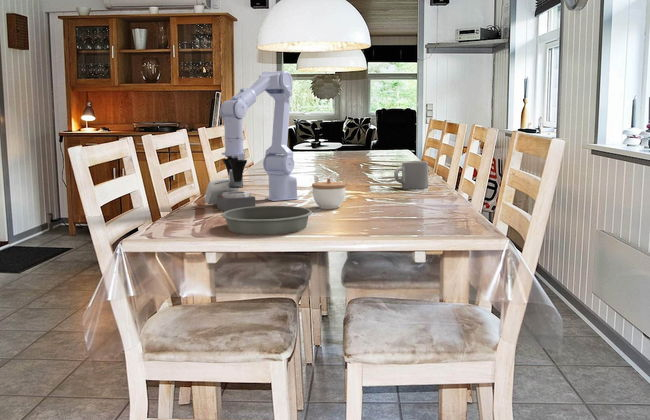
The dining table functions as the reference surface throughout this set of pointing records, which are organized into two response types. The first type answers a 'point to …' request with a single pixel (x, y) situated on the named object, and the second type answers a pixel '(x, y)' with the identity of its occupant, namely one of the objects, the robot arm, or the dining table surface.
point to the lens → (234, 184)
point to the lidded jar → (329, 194)
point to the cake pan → (267, 219)
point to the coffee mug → (413, 174)
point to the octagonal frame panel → (235, 200)
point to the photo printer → (217, 190)
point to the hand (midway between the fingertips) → (235, 181)
